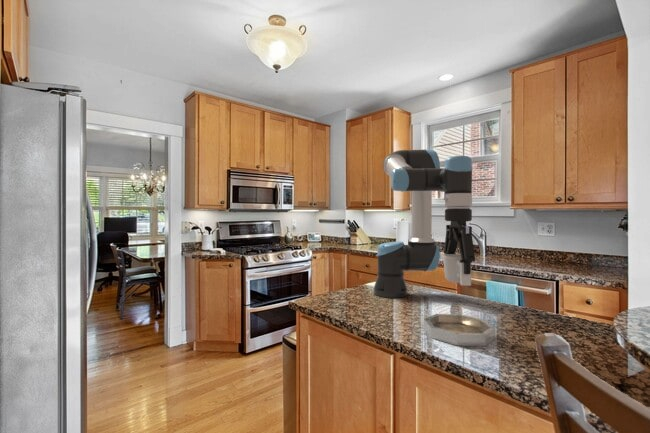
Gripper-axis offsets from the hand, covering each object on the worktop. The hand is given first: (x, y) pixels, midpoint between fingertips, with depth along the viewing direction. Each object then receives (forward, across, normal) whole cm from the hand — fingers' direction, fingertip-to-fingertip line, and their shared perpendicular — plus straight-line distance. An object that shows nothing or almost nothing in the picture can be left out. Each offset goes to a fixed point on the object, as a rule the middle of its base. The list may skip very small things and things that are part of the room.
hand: (458, 281), depth 97 cm
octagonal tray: (+16, 0, 0) cm, 16 cm away
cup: (+1, 0, 0) cm, 1 cm away
